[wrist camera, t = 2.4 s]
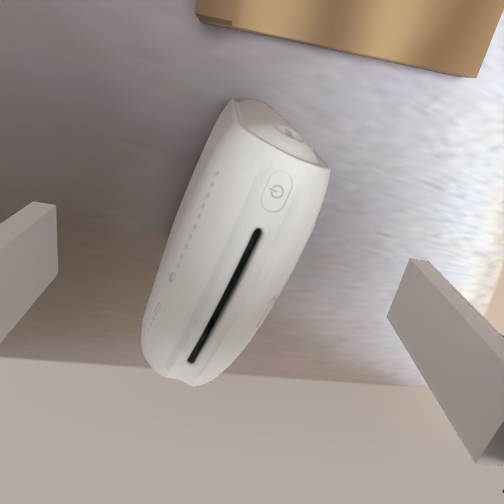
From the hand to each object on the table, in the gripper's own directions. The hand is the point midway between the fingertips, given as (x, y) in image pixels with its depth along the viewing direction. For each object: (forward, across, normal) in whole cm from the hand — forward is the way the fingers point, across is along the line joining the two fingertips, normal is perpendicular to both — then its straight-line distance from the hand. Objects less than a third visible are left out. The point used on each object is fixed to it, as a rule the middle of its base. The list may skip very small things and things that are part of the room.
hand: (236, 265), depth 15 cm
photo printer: (+10, 0, 0) cm, 10 cm away
